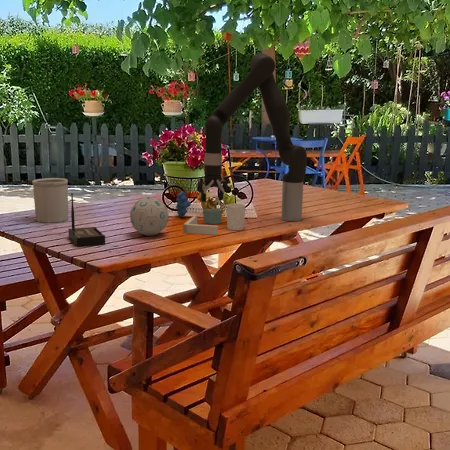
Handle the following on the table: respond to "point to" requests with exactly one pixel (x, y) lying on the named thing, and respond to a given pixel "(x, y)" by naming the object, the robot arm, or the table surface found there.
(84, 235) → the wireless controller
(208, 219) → the teal block
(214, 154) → the robot arm
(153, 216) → the puzzle ball
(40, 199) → the utensil holder
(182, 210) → the grapes
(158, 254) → the table surface
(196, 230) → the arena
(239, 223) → the white cup
